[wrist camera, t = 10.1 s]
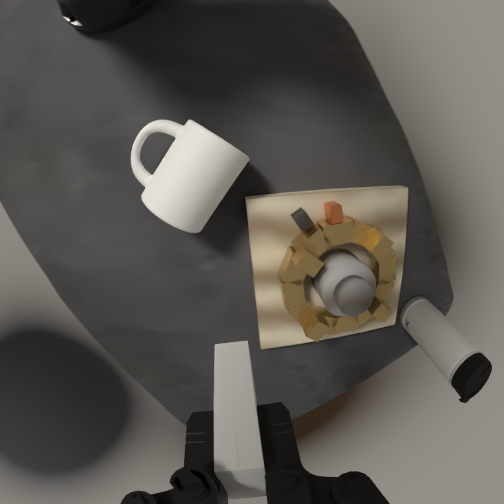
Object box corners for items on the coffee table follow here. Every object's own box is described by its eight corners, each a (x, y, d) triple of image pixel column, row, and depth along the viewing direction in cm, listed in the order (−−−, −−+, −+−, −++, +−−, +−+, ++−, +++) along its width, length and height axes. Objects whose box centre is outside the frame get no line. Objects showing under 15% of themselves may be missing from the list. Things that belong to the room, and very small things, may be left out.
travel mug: (391, 322, 46) (453, 402, 27) (413, 290, 44) (487, 362, 26) (412, 332, 48) (471, 405, 29) (433, 302, 46) (501, 369, 27)
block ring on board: (245, 196, 37) (251, 214, 28) (400, 185, 38) (441, 199, 29) (259, 341, 45) (267, 384, 36) (389, 318, 46) (416, 351, 37)
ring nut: (288, 334, 42) (295, 356, 37) (266, 214, 35) (273, 226, 31) (386, 307, 42) (402, 325, 37) (383, 191, 36) (403, 199, 31)
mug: (247, 156, 35) (253, 159, 28) (203, 222, 38) (197, 242, 30) (166, 105, 32) (151, 95, 25) (125, 173, 34) (100, 182, 27)
